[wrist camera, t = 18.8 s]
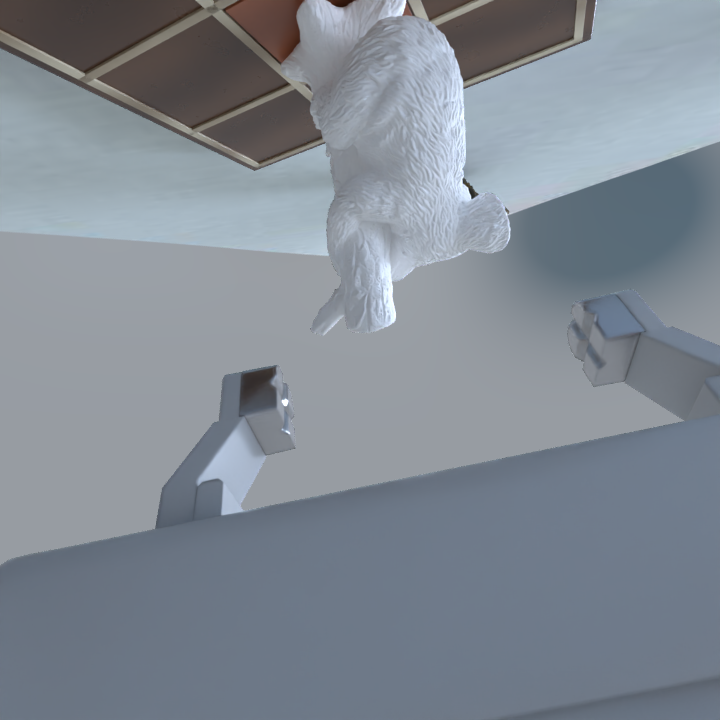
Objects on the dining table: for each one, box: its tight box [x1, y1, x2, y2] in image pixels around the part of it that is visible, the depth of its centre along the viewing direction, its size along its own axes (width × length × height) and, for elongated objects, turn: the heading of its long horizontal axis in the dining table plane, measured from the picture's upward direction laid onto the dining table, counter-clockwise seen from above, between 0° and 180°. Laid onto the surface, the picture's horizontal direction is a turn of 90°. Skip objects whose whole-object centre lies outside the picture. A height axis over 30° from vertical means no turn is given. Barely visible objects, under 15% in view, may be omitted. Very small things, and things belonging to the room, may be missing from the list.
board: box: [0, 0, 597, 171], centre depth 19 cm, size 20×20×1 cm
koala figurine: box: [280, 0, 510, 336], centre depth 20 cm, size 8×7×12 cm
